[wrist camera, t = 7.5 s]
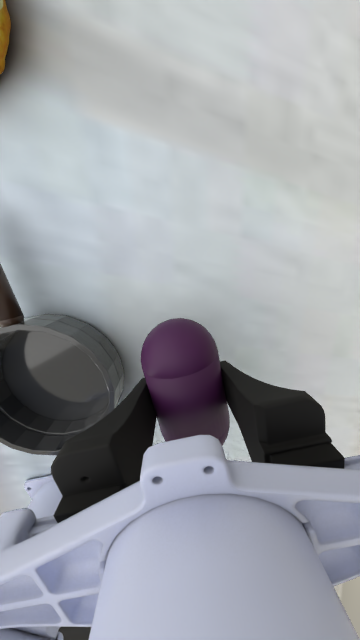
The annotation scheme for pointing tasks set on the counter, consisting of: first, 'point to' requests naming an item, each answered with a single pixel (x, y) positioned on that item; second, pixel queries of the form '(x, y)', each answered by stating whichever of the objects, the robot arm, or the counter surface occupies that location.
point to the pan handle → (8, 303)
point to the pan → (54, 381)
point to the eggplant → (185, 380)
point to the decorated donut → (4, 33)
